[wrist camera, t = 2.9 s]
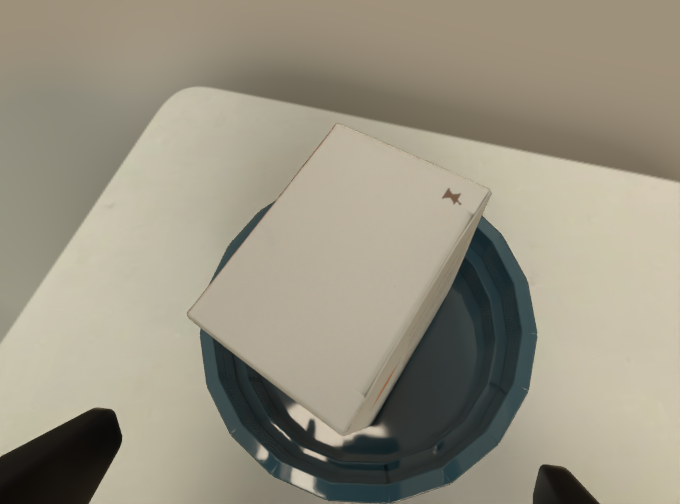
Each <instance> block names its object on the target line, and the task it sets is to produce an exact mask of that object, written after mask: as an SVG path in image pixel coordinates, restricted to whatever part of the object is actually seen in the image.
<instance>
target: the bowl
mask: <svg viewBox="0 0 680 504" xmlns="http://www.w3.org/2000/svg"><path fill="white" fill-rule="evenodd" d="M274 203H275V201H274V202H273V203H271V204H270V205H268V206H266V207H265V208H263V209H262V210H260V212H258V213H257V214H256V215H255V216H254V218H253V219H252V220H251V221H250V222H249V223H248V224H247V225H246V226H245V228H244V229H243V230H242V231H241V232H240V233H239V234H238V235H237V236H236V238H235V239H234V240H233V241H232V242H231V243H230V245H229V246H228V248H227V250H226V252H225V254H224V256H223V258H222V260H221V262H220V264H219V266H218V268H217V270H216V272H215V274H214V276H213V278H212V280H211V282H212V281H213V280H214V279H215V277H216V276H217V275H218V274H219V272H220V271H221V270H222V269H223V267H224V266H225V265H226V263H227V262H228V261H229V260H230V258H231V257H232V256H233V255H234V253H235V252H236V251H237V250H238V248H239V247H240V246H241V244H242V243H243V242H244V241H245V239H246V238H247V237H248V236H249V234H250V233H251V232H252V231H253V229H254V228H255V227H256V225H257V224H258V223H259V221H260V220H261V219H262V218H263V216H264V215H265V214H266V213H267V211H268V210H269V209H270V208H271V206H272V205H273V204H274ZM211 282H210V284H211ZM210 284H209V285H210ZM200 340H201V347H202V355H203V362H204V370H205V378H206V385H207V388H208V390H209V392H210V394H211V396H212V398H213V400H214V402H215V404H216V407H217V409H218V411H219V413H220V415H221V417H222V419H223V421H224V423H225V425H226V427H227V429H228V431H229V433H230V434H232V435H231V436H232V437H233V438H234V439H235V440H236V441H237V442H238V443H239V444H240V445H241V446H242V447H243V448H244V449H245V450H246V451H247V452H248V453H249V454H250V455H251V456H252V457H253V458H254V459H255V460H256V461H257V462H258V463H259V464H260V465H261V466H262V467H263V468H264V469H265V470H266V471H267V472H268V473H269V474H271V475H272V476H273V477H275V478H278V479H280V480H282V481H284V482H287V483H289V484H291V485H293V486H295V487H298V488H300V489H302V490H304V491H307V492H309V493H311V494H313V495H316V496H318V497H320V498H322V499H324V500H328V501H340V502H358V503H376V504H393V503H396V502H399V501H402V500H405V499H408V498H411V497H414V496H417V495H420V494H423V493H426V492H429V491H432V490H435V489H438V488H441V487H444V486H447V485H450V483H453V482H454V481H455V480H456V479H458V478H459V477H460V476H461V475H463V474H464V473H465V472H466V471H467V470H469V469H470V468H471V467H472V466H473V465H475V464H476V463H477V462H478V461H479V460H481V459H482V458H483V457H484V456H485V455H487V454H488V453H489V452H490V451H492V450H493V449H494V448H495V447H496V446H498V443H500V442H501V440H502V438H503V436H504V434H505V433H506V431H507V429H508V427H509V426H510V424H511V422H512V420H513V418H514V417H515V415H516V413H517V411H518V410H519V408H520V406H521V404H522V402H523V401H524V399H525V397H526V395H527V393H528V390H529V386H530V380H531V373H532V367H533V361H534V354H535V348H536V342H537V328H536V323H535V318H534V312H533V307H532V301H531V296H530V291H529V285H528V282H527V279H526V277H525V275H524V273H523V271H522V270H521V268H520V266H519V264H518V262H517V261H516V259H515V257H514V255H513V253H512V252H511V250H510V248H509V246H508V244H507V242H506V241H505V239H504V237H503V236H502V234H501V233H500V232H499V231H498V230H497V229H495V228H494V227H493V226H492V225H491V224H490V223H489V222H488V221H487V220H486V219H485V218H484V217H483V216H481V219H480V221H479V223H478V225H477V228H476V230H475V232H474V235H473V237H472V240H471V242H470V244H469V247H468V250H467V252H466V254H465V256H464V259H463V261H462V263H461V266H460V268H459V270H458V272H457V274H456V277H455V279H454V281H453V283H452V286H451V288H450V290H449V292H448V294H447V296H446V297H445V299H444V301H443V303H442V304H441V306H440V308H439V309H438V311H437V313H436V315H435V316H434V318H433V320H432V322H431V323H430V325H429V327H428V329H427V330H426V332H425V334H424V335H423V337H422V339H421V340H420V342H419V344H418V346H417V347H416V349H415V351H414V352H413V354H412V356H411V358H410V359H409V361H408V363H407V365H406V366H405V368H404V370H403V371H402V373H401V375H400V377H399V378H398V380H397V382H396V384H395V385H394V387H393V389H392V391H391V392H390V394H389V396H388V398H387V399H386V401H385V403H384V404H383V406H382V408H381V410H380V411H379V413H378V415H377V417H376V418H375V420H374V422H373V424H372V425H371V426H370V427H367V428H365V429H363V430H360V431H357V432H355V433H352V434H349V435H346V436H341V435H339V434H338V433H337V432H335V431H334V430H333V429H331V428H330V427H329V426H328V425H326V424H325V423H324V422H322V421H321V420H320V419H318V418H317V417H316V416H314V415H313V414H312V413H310V412H309V411H308V410H306V409H305V408H304V407H302V406H301V405H300V404H298V403H297V402H296V401H294V400H293V399H292V398H291V397H289V396H288V395H287V394H285V393H284V392H283V391H281V390H280V389H279V388H278V387H276V386H275V385H274V384H272V383H271V382H270V381H269V380H267V379H266V378H265V377H263V376H262V375H261V374H259V373H258V372H257V371H256V370H254V369H253V368H252V367H250V366H249V365H248V364H246V363H245V362H244V361H243V360H241V359H240V358H239V357H237V356H236V355H235V354H234V353H232V352H231V351H230V350H228V349H227V348H226V347H224V346H223V345H222V344H221V343H219V342H218V341H217V340H216V339H214V338H213V337H212V336H210V335H209V334H208V333H207V332H205V331H204V330H203V329H201V330H200Z"/></svg>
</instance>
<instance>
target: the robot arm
mask: <svg viewBox="0 0 680 504" xmlns="http://www.w3.org/2000/svg"><path fill="white" fill-rule="evenodd" d="M121 443H122V434H121V430H120V427H119V424H118V420H117V417H116V414H115V412H114V411H113V410H111V409H105V408H93V409H91V410H89V411H87V412H85V413H83V414H81V415H79V416H77V417H75V418H73V419H72V420H70V421H68V422H66V423H64V424H62V425H60V426H58V427H56V428H54V429H52V430H51V431H49V432H47V433H45V434H43V435H41V436H39V437H37V438H35V439H33V440H31V441H30V442H28V443H26V444H24V445H22V446H20V447H18V448H16V449H14V450H12V451H11V452H9V453H7V454H5V455H3V456H1V457H0V504H89V502H90V500H91V499H92V497H93V495H94V493H95V491H96V490H97V488H98V486H99V484H100V482H101V481H102V479H103V477H104V475H105V473H106V472H107V470H108V468H109V466H110V464H111V463H112V461H113V459H114V457H115V455H116V454H117V452H118V450H119V448H120V446H121ZM533 504H600V503H599V502H598V501H597V500H596V499H595V498H594V497H593V496H592V495H591V494H590V493H589V492H588V491H587V490H586V488H585V487H584V486H583V485H582V484H581V483H580V482H579V481H578V480H577V479H576V478H575V477H574V476H573V475H572V473H571V472H570V471H569V470H567V469H566V468H564V467H561V466H554V465H546V464H545V465H542V466H541V467H540V469H539V472H538V476H537V480H536V484H535V488H534V492H533Z"/></svg>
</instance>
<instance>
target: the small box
mask: <svg viewBox="0 0 680 504" xmlns="http://www.w3.org/2000/svg"><path fill="white" fill-rule="evenodd" d="M491 194H492V192H491V190H490V189H488V188H486V187H484V186H482V185H480V184H477V183H475V182H473V181H470V180H468V179H466V178H464V177H462V176H459V175H457V174H455V173H453V172H450V171H448V170H446V169H443V168H441V167H439V166H437V165H434V164H432V163H430V162H427V161H425V160H423V159H420V158H418V157H416V156H414V155H411V154H409V153H407V152H404V151H402V150H400V149H397V148H395V147H393V146H391V145H388V144H386V143H384V142H381V141H379V140H377V139H375V138H372V137H370V136H368V135H365V134H363V133H361V132H358V131H356V130H353V129H351V128H348V127H346V126H344V125H342V124H335V126H334V127H333V128H332V130H331V131H330V132H329V134H328V135H327V136H326V138H325V139H324V140H323V141H322V143H321V144H320V145H319V146H318V148H317V149H316V150H315V151H314V153H313V154H312V155H311V156H310V158H309V159H308V160H307V162H306V163H305V164H304V165H303V167H302V168H301V169H300V171H299V172H298V173H297V174H296V176H295V177H294V178H293V179H292V181H291V182H290V183H289V185H288V186H287V187H286V189H285V190H284V191H283V192H282V194H281V195H280V196H279V197H278V199H277V200H276V201H275V203H274V204H273V205H272V206H271V208H270V209H269V210H268V211H267V213H266V214H265V215H264V216H263V218H262V219H261V220H260V221H259V223H258V224H257V225H256V227H255V228H254V229H253V231H252V232H251V233H250V234H249V236H248V237H247V238H246V239H245V241H244V242H243V243H242V244H241V246H240V247H239V248H238V250H237V251H236V252H235V253H234V255H233V256H232V257H231V258H230V260H229V261H228V262H227V263H226V265H225V266H224V267H223V269H222V270H221V271H220V272H219V274H218V275H217V276H216V277H215V279H214V280H213V281H212V282H211V284H210V285H209V286H208V287H207V289H206V290H205V291H204V292H203V294H202V295H201V296H200V298H199V299H198V300H197V301H196V303H195V304H194V305H193V306H192V307H191V309H190V310H189V311H188V312H187V316H188V317H189V319H190V320H191V321H193V322H194V323H195V324H196V325H198V326H199V327H200V328H201V329H203V330H204V331H205V332H207V333H208V334H209V335H210V336H212V337H213V338H214V339H216V340H217V341H218V342H219V343H221V344H222V345H223V346H224V347H226V348H227V349H228V350H230V351H231V352H232V353H234V354H235V355H236V356H237V357H239V358H240V359H241V360H243V361H244V362H245V363H246V364H248V365H249V366H250V367H252V368H253V369H254V370H256V371H257V372H258V373H259V374H261V375H262V376H263V377H265V378H266V379H267V380H269V381H270V382H271V383H272V384H274V385H275V386H276V387H278V388H279V389H280V390H281V391H283V392H284V393H285V394H287V395H288V396H289V397H291V398H292V399H293V400H294V401H296V402H297V403H298V404H300V405H301V406H302V407H304V408H305V409H306V410H308V411H309V412H310V413H312V414H313V415H314V416H316V417H317V418H318V419H320V420H321V421H322V422H324V423H325V424H326V425H328V426H329V427H330V428H331V429H333V430H334V431H335V432H337V433H338V434H339V435H341V436H346V435H349V434H352V433H355V432H357V431H360V430H363V429H365V428H367V427H370V426H371V425H372V424H373V422H374V420H375V418H376V417H377V415H378V413H379V411H380V410H381V408H382V406H383V404H384V403H385V401H386V399H387V398H388V396H389V394H390V392H391V391H392V389H393V387H394V385H395V384H396V382H397V380H398V378H399V377H400V375H401V373H402V371H403V370H404V368H405V366H406V365H407V363H408V361H409V359H410V358H411V356H412V354H413V352H414V351H415V349H416V347H417V346H418V344H419V342H420V340H421V339H422V337H423V335H424V334H425V332H426V330H427V329H428V327H429V325H430V323H431V322H432V320H433V318H434V316H435V315H436V313H437V311H438V309H439V308H440V306H441V304H442V303H443V301H444V299H445V297H446V296H447V294H448V292H449V290H450V288H451V286H452V283H453V281H454V279H455V277H456V274H457V272H458V270H459V268H460V266H461V263H462V261H463V259H464V256H465V254H466V252H467V250H468V247H469V244H470V242H471V240H472V237H473V235H474V232H475V230H476V228H477V225H478V223H479V221H480V219H481V216H482V214H483V211H484V209H485V207H486V205H487V203H488V200H489V198H490V196H491Z"/></svg>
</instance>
